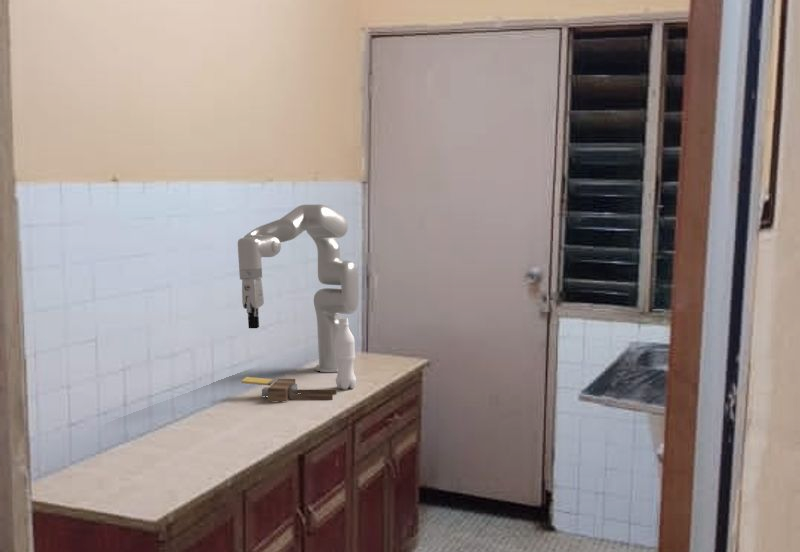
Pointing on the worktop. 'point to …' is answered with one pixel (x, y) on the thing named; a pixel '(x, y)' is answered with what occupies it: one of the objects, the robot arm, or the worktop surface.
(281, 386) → the block
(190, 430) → the worktop surface
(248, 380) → the yellow grey-edged tile
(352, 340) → the water bottle
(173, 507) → the worktop surface
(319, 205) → the robot arm
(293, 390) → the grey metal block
